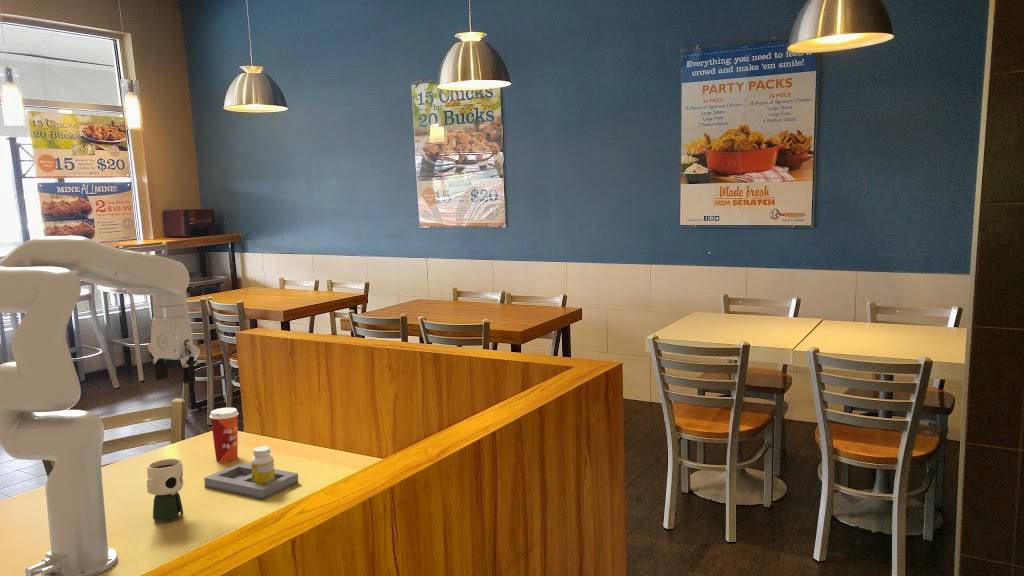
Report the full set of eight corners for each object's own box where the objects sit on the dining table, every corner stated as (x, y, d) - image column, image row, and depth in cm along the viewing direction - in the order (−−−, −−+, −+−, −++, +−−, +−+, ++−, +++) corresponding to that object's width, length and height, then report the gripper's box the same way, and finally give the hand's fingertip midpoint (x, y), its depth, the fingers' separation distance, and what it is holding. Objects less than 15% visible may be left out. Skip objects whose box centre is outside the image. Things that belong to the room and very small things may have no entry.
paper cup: (231, 464, 201) (228, 414, 200) (206, 462, 203) (203, 413, 201) (247, 454, 209) (244, 407, 207) (223, 453, 210) (220, 406, 209)
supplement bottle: (274, 488, 181) (272, 450, 180) (252, 490, 180) (249, 453, 179) (275, 480, 186) (273, 444, 185) (253, 483, 185) (251, 446, 184)
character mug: (164, 530, 160) (160, 473, 158) (137, 527, 161) (133, 470, 160) (197, 510, 170) (194, 456, 169) (171, 507, 172) (167, 454, 170)
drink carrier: (263, 499, 175) (262, 489, 175) (204, 487, 184) (204, 477, 184) (298, 482, 186) (297, 473, 186) (241, 471, 195) (240, 462, 195)
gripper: (133, 312, 178) (138, 380, 180) (182, 315, 170) (187, 387, 172) (160, 308, 184) (164, 374, 186) (208, 311, 177) (212, 380, 179)
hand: (175, 380), depth 179 cm, fingers open, 9 cm apart
